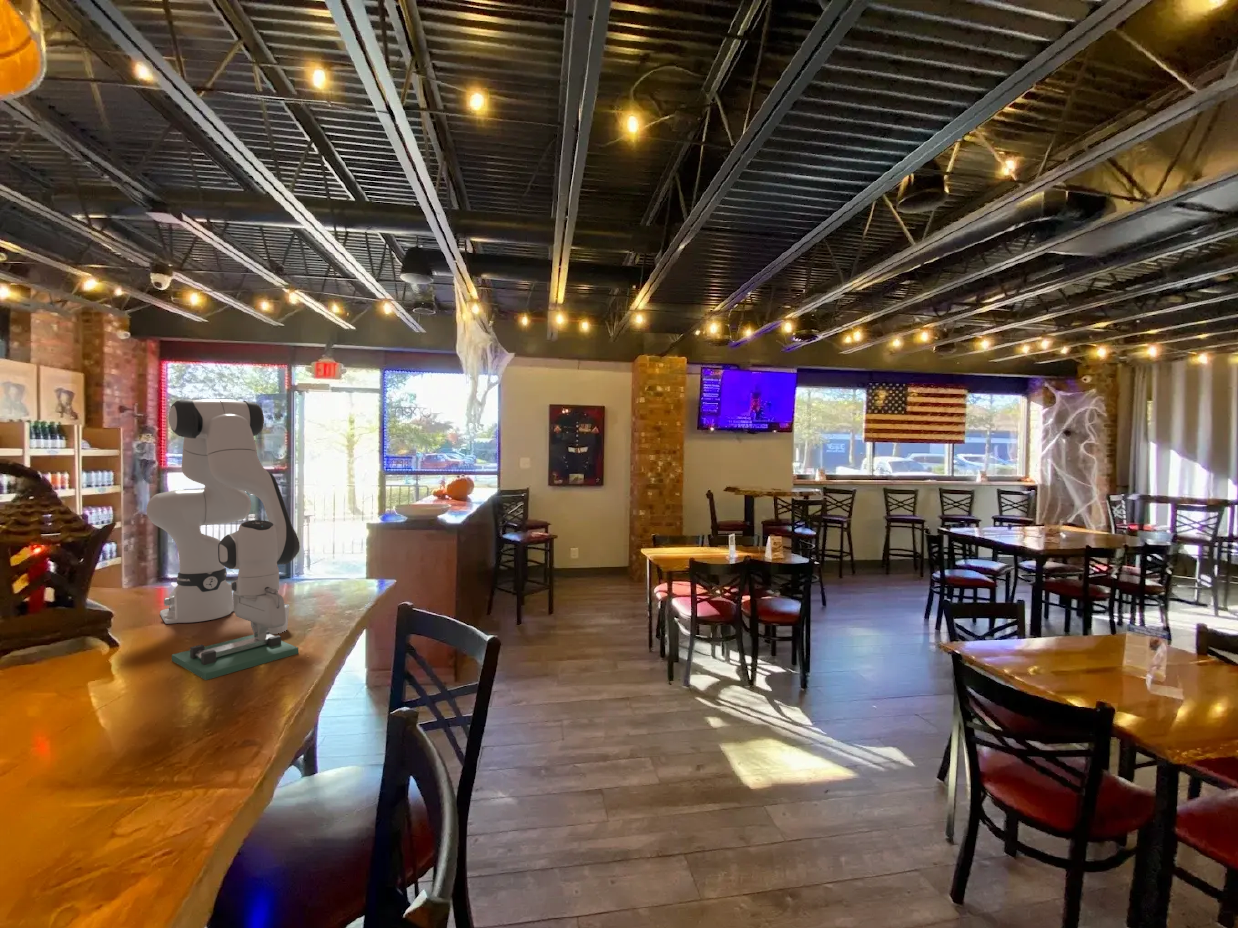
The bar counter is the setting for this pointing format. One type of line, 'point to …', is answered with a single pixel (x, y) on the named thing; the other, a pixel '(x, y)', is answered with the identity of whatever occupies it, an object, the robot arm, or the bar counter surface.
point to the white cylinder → (281, 628)
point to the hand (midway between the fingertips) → (260, 639)
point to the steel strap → (235, 646)
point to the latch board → (232, 657)
